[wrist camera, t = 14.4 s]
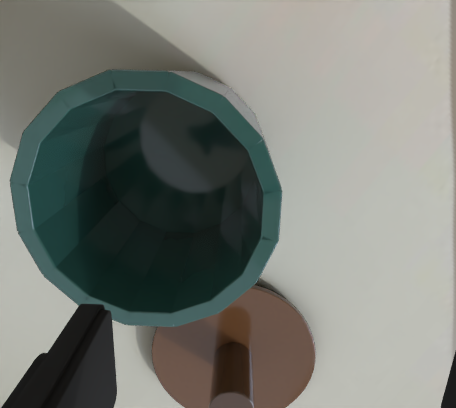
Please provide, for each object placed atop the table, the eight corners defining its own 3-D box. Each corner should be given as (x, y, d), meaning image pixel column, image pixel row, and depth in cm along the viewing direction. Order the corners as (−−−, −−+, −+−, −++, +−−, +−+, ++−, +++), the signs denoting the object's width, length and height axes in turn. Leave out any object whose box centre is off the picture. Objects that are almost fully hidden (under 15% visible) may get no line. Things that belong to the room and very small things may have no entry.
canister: (89, 68, 25) (-9, 65, 15) (271, 73, 25) (290, 73, 15) (102, 236, 29) (30, 322, 19) (261, 242, 29) (272, 331, 19)
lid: (152, 274, 30) (129, 324, 24) (320, 280, 30) (340, 332, 24) (157, 407, 34) (139, 477, 28) (306, 413, 34) (319, 486, 28)
